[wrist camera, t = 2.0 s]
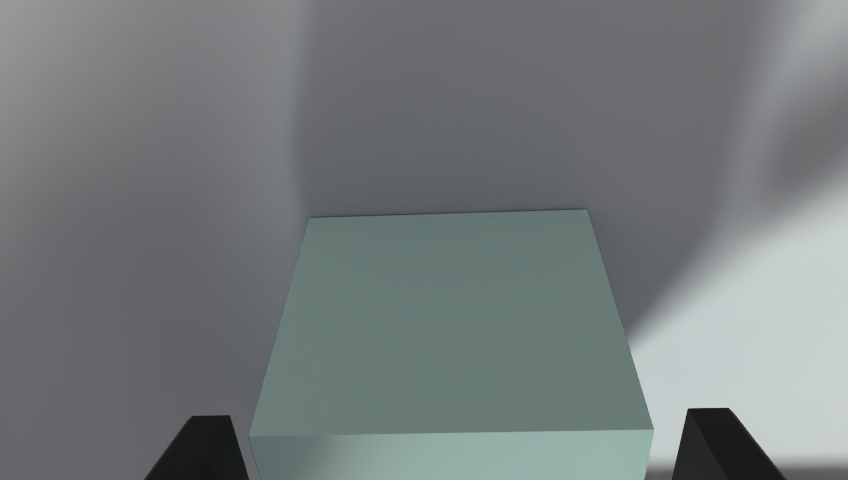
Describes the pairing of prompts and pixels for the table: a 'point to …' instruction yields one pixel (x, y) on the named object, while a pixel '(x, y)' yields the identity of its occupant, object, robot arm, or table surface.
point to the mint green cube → (451, 355)
